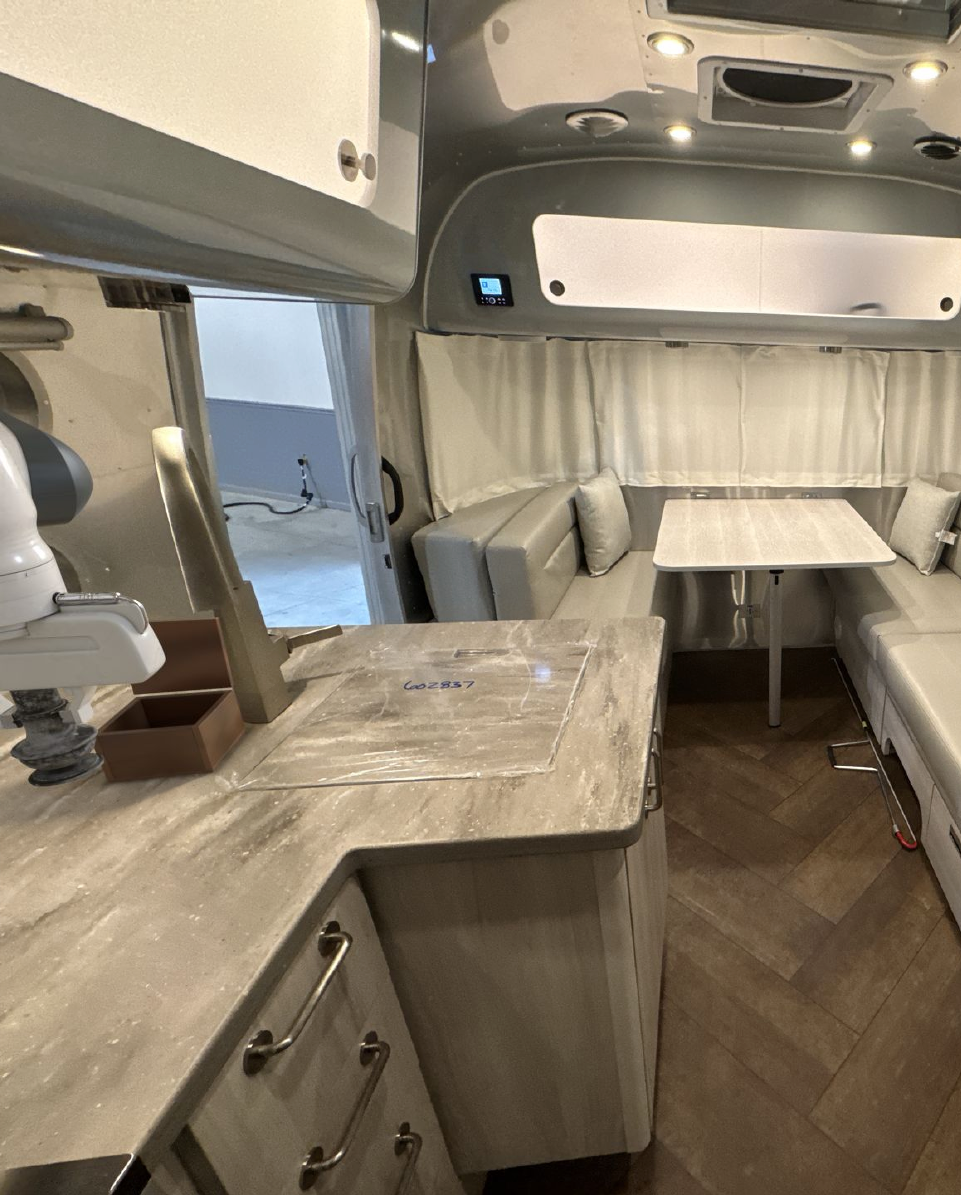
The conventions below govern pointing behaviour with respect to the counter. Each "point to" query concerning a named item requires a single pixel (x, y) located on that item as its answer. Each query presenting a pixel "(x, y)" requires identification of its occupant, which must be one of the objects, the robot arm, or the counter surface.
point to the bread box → (170, 735)
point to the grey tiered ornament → (52, 740)
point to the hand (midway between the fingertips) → (47, 723)
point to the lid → (189, 657)
